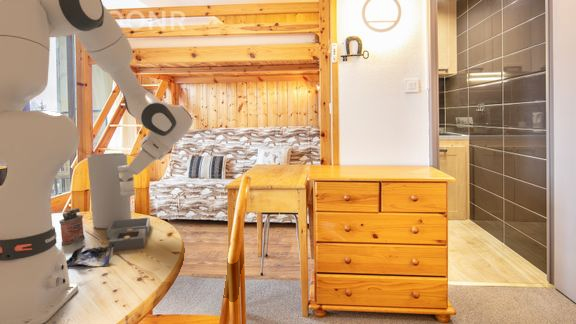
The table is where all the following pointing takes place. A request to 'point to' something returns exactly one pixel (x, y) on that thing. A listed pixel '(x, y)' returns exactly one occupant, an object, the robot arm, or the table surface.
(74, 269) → the table surface
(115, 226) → the tray
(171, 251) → the table surface
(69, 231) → the lighter
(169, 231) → the table surface
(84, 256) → the snack package
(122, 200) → the cylinder vase
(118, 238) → the block
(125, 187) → the ball
